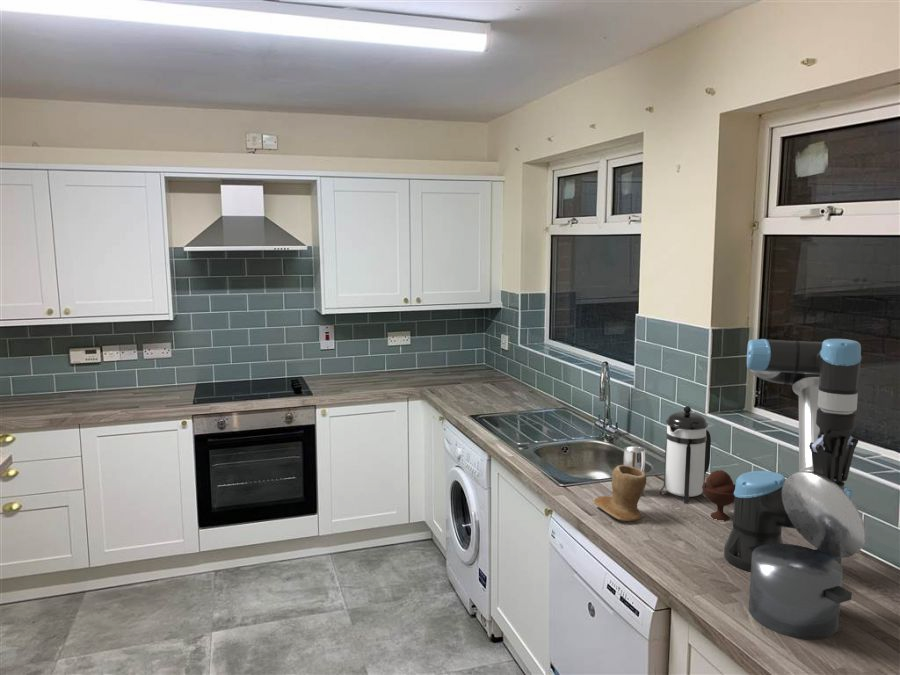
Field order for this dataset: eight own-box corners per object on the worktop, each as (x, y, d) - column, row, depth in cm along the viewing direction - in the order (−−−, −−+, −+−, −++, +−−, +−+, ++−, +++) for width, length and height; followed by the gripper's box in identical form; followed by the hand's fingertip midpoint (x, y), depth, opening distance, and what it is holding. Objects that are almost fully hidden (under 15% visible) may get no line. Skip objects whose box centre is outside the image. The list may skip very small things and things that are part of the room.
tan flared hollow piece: (652, 520, 205) (654, 472, 203) (618, 526, 201) (620, 477, 199) (624, 502, 219) (625, 457, 217) (591, 507, 216) (593, 461, 213)
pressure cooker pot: (783, 581, 169) (787, 531, 167) (876, 633, 147) (882, 576, 145) (721, 598, 161) (724, 546, 159) (809, 655, 139) (814, 595, 137)
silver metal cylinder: (630, 487, 232) (632, 444, 230) (648, 493, 227) (650, 449, 225) (618, 492, 228) (619, 448, 226) (635, 498, 223) (637, 453, 220)
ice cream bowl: (743, 525, 201) (746, 476, 199) (704, 523, 203) (706, 475, 201) (734, 511, 212) (737, 464, 209) (697, 509, 213) (699, 463, 211)
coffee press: (713, 506, 216) (718, 413, 211) (660, 501, 220) (663, 410, 215) (708, 487, 232) (712, 400, 228) (659, 482, 236) (662, 398, 232)
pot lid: (788, 535, 164) (796, 530, 165) (866, 573, 146) (875, 567, 147) (776, 461, 159) (784, 457, 160) (855, 490, 141) (865, 485, 142)
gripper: (841, 403, 156) (833, 502, 159) (800, 409, 151) (793, 511, 154) (872, 410, 149) (863, 513, 153) (831, 417, 144) (822, 523, 148)
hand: (828, 512), depth 153 cm, fingers closed
